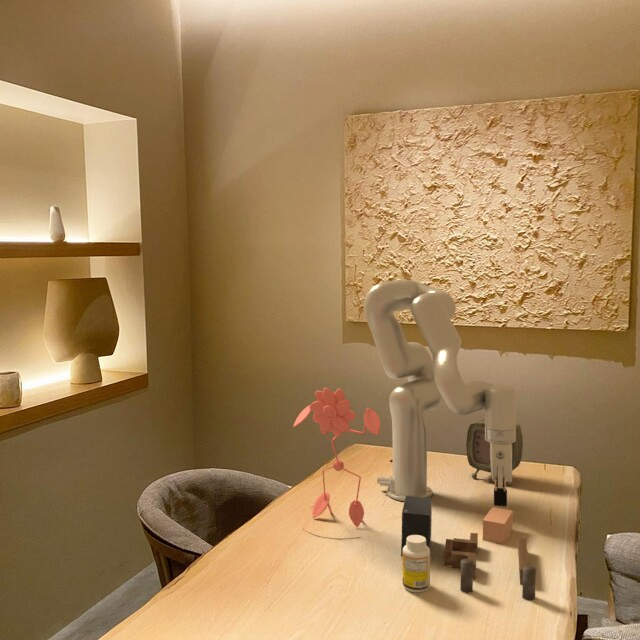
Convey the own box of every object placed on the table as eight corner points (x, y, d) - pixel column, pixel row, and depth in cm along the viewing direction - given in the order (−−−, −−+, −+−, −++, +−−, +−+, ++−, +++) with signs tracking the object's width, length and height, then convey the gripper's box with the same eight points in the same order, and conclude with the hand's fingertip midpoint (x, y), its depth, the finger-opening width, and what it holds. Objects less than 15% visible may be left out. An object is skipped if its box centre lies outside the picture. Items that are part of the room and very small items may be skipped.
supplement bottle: (411, 577, 144) (412, 530, 143) (435, 585, 140) (435, 537, 139) (397, 587, 139) (397, 539, 138) (420, 596, 136) (420, 547, 135)
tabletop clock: (465, 479, 204) (467, 396, 201) (477, 470, 211) (478, 391, 208) (513, 488, 195) (515, 402, 193) (524, 479, 203) (526, 396, 200)
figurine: (306, 505, 184) (303, 377, 180) (392, 526, 170) (391, 387, 166) (271, 525, 172) (267, 389, 167) (361, 550, 157) (359, 401, 153)
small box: (430, 559, 152) (430, 514, 151) (400, 557, 153) (400, 512, 152) (432, 539, 162) (432, 497, 161) (404, 537, 163) (404, 495, 162)
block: (482, 540, 162) (482, 520, 161) (492, 526, 170) (492, 507, 169) (504, 544, 159) (504, 524, 159) (512, 530, 167) (513, 510, 167)
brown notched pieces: (439, 589, 138) (439, 561, 138) (447, 543, 160) (447, 518, 159) (535, 601, 134) (536, 571, 133) (530, 552, 155) (531, 526, 154)
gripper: (516, 443, 165) (516, 517, 166) (515, 427, 179) (515, 496, 181) (484, 441, 166) (484, 514, 168) (485, 426, 181) (485, 494, 183)
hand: (500, 504), depth 174 cm, fingers closed
